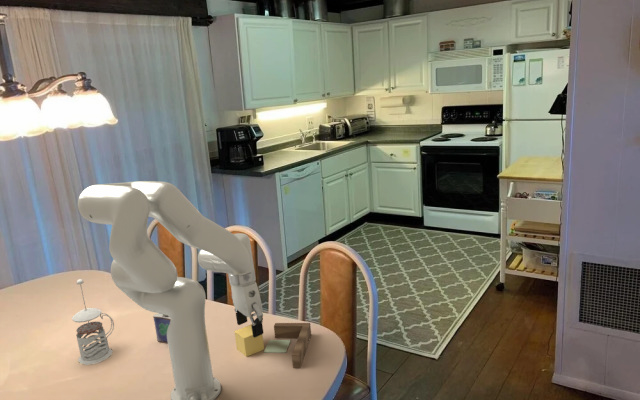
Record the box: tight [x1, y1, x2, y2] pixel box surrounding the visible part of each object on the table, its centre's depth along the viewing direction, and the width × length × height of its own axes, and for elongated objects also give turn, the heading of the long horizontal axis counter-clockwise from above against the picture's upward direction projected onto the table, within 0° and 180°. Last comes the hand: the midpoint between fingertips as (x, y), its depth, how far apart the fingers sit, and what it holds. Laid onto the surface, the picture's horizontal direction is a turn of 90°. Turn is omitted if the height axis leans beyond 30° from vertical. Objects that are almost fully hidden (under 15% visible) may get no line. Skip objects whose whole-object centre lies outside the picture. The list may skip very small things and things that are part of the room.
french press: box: [71, 278, 115, 366], centre depth 146 cm, size 10×12×25 cm
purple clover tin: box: [152, 313, 171, 345], centre depth 152 cm, size 9×3×11 cm, turn 65°
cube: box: [234, 323, 265, 358], centre depth 144 cm, size 6×6×6 cm
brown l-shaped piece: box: [263, 322, 312, 369], centre depth 142 cm, size 18×12×4 cm
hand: (250, 329), depth 145 cm, fingers open, 9 cm apart
